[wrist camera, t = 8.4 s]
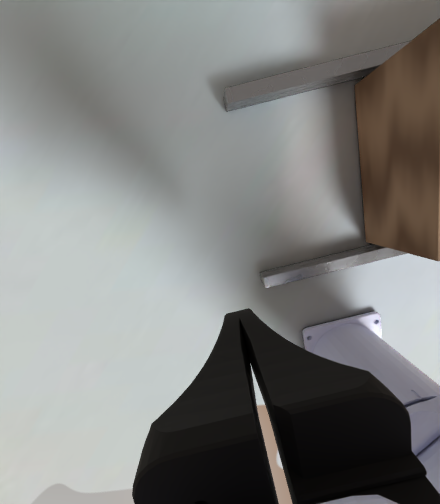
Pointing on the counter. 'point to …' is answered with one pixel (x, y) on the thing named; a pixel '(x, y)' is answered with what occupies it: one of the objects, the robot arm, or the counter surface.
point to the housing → (402, 148)
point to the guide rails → (297, 84)
